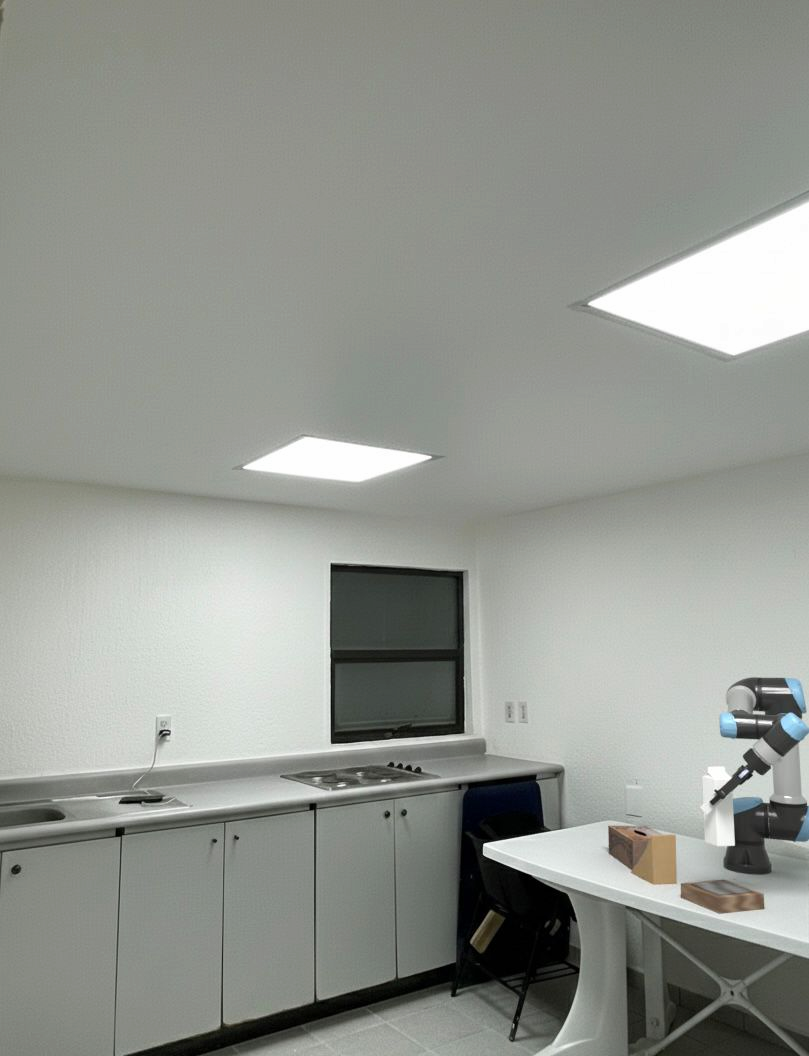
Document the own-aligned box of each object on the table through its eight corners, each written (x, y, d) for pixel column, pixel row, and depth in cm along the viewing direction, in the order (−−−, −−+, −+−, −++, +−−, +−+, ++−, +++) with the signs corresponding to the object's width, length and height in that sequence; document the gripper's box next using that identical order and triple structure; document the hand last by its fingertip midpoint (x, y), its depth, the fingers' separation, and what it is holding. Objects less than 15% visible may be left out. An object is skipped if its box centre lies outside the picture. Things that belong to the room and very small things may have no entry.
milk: (735, 846, 234) (732, 767, 238) (717, 846, 233) (714, 768, 236) (721, 841, 240) (718, 765, 244) (704, 842, 238) (701, 765, 242)
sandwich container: (653, 872, 268) (651, 825, 271) (677, 884, 254) (676, 834, 256) (629, 872, 267) (628, 825, 269) (653, 885, 252) (651, 835, 254)
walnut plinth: (724, 893, 244) (723, 878, 244) (764, 908, 229) (763, 892, 230) (681, 897, 238) (680, 882, 239) (719, 913, 223) (718, 897, 224)
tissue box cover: (675, 872, 269) (674, 841, 270) (633, 872, 268) (632, 840, 270) (647, 854, 294) (646, 825, 296) (608, 854, 293) (608, 825, 295)
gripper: (768, 770, 223) (709, 824, 229) (776, 763, 241) (722, 813, 247) (746, 749, 227) (689, 803, 232) (756, 744, 245) (703, 793, 250)
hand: (706, 808), depth 239 cm, fingers closed on milk, 8 cm apart
